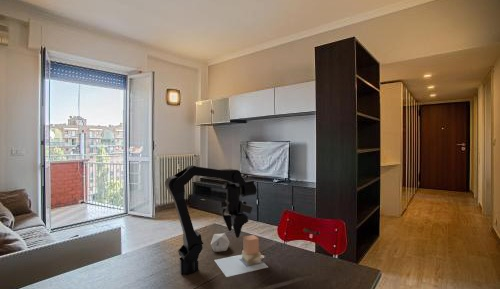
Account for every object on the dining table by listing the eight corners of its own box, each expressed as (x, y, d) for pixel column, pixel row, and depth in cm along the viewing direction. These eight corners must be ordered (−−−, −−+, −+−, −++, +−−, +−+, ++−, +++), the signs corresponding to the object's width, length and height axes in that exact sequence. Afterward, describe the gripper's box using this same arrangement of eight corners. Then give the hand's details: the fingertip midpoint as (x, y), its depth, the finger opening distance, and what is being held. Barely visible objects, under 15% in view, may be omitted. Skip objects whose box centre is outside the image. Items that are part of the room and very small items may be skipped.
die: (206, 252, 126) (207, 240, 120) (216, 238, 133) (217, 225, 127) (222, 260, 124) (224, 248, 118) (231, 245, 131) (233, 233, 125)
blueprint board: (226, 279, 99) (226, 276, 99) (214, 262, 114) (214, 260, 114) (268, 269, 107) (268, 267, 107) (251, 254, 121) (251, 252, 121)
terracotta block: (248, 255, 109) (247, 240, 109) (243, 250, 114) (243, 236, 114) (259, 252, 111) (258, 238, 111) (253, 248, 116) (253, 234, 116)
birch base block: (247, 265, 108) (247, 255, 108) (242, 259, 114) (241, 250, 114) (260, 262, 111) (260, 253, 111) (254, 256, 116) (254, 247, 116)
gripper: (259, 200, 109) (260, 238, 109) (242, 192, 126) (242, 225, 126) (234, 203, 105) (234, 242, 105) (219, 195, 122) (220, 228, 122)
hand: (233, 234), depth 114 cm, fingers open, 9 cm apart
